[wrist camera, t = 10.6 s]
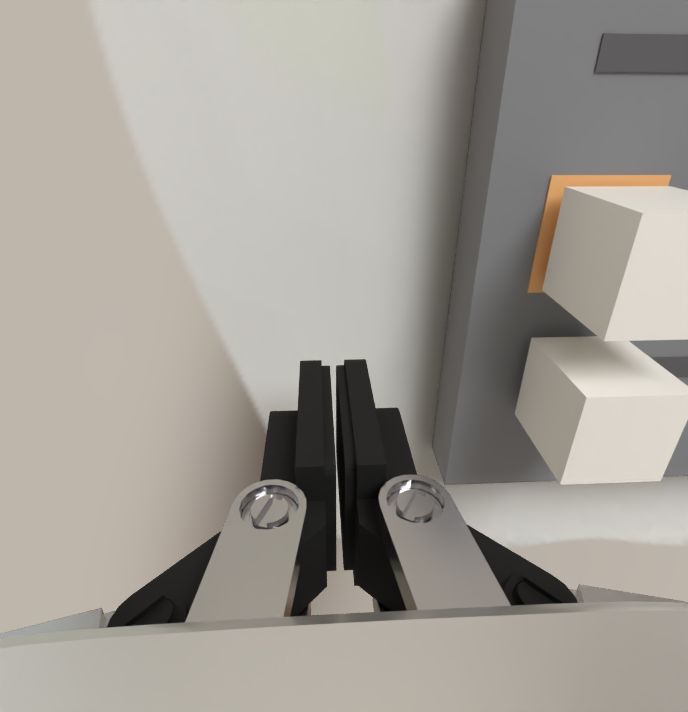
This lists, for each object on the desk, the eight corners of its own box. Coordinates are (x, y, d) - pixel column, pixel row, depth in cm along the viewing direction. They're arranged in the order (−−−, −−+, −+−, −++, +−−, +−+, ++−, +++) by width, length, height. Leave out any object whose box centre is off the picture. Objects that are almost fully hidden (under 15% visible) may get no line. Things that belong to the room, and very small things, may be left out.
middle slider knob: (670, 186, 11) (779, 212, 9) (636, 288, 12) (723, 338, 10) (564, 186, 11) (642, 212, 8) (541, 290, 12) (604, 341, 10)
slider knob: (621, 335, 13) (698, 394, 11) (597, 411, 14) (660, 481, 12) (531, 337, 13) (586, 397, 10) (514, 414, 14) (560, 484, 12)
